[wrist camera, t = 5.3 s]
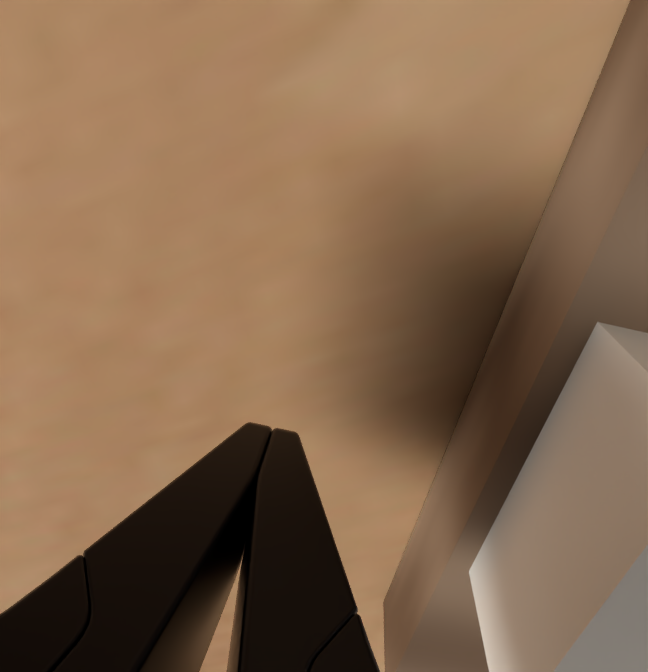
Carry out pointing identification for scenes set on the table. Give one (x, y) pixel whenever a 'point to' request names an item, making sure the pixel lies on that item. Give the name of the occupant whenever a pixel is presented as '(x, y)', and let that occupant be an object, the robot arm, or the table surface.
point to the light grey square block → (576, 527)
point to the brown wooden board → (532, 359)
